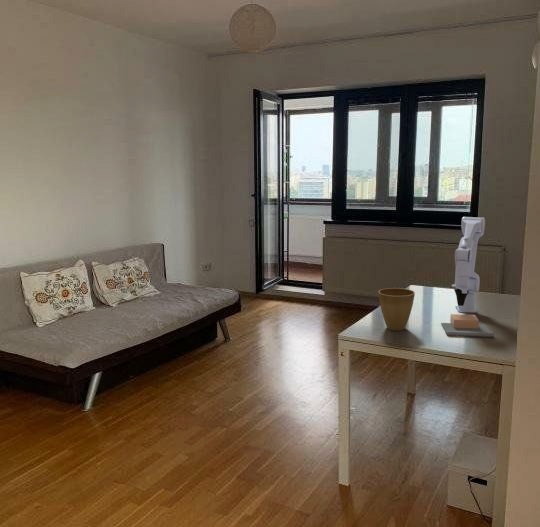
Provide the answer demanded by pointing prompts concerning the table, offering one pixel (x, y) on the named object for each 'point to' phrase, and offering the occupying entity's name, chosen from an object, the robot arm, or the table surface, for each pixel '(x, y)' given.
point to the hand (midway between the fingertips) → (460, 305)
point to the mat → (467, 331)
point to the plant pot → (396, 307)
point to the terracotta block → (464, 321)
